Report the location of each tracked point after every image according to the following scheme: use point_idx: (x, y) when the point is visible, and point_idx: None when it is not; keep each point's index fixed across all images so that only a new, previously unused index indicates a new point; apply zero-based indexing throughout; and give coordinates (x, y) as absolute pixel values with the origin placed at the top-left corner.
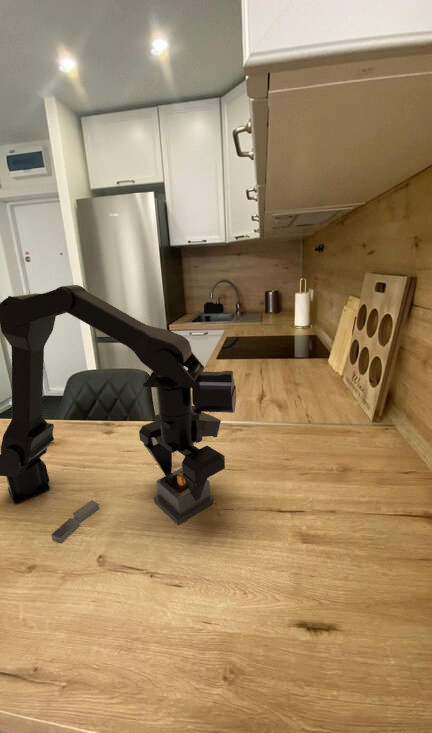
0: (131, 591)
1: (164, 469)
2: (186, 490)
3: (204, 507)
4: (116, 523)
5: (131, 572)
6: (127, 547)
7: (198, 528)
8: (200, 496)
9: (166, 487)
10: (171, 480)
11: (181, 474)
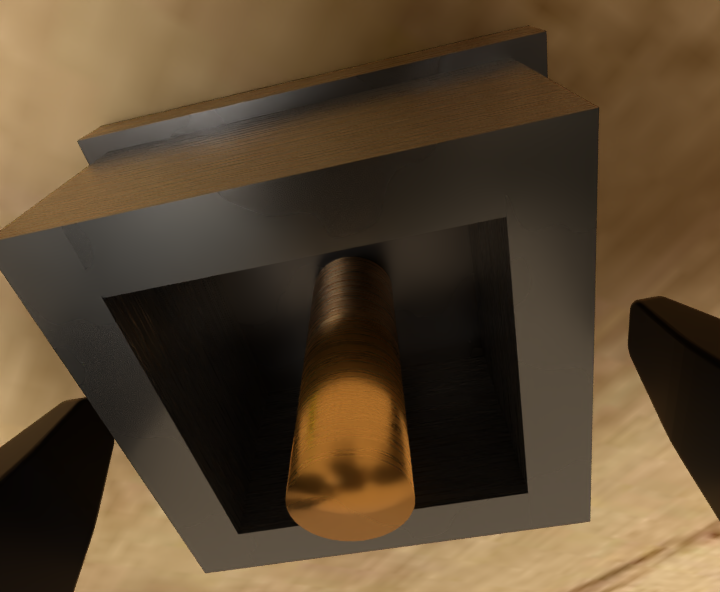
0: (709, 588)
1: (75, 543)
2: (537, 433)
3: None
4: (319, 575)
5: (633, 576)
6: (498, 567)
7: (670, 278)
8: (678, 306)
9: (356, 541)
10: (213, 436)
11: (339, 499)
